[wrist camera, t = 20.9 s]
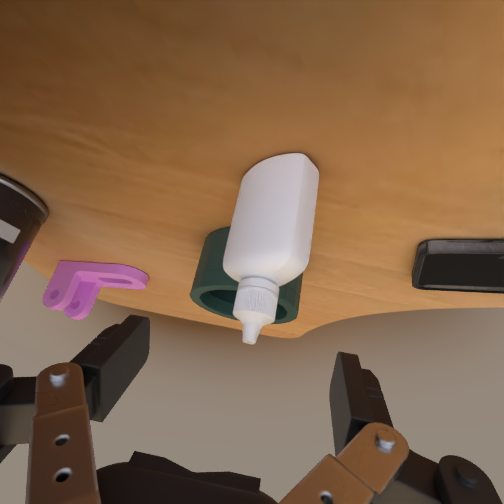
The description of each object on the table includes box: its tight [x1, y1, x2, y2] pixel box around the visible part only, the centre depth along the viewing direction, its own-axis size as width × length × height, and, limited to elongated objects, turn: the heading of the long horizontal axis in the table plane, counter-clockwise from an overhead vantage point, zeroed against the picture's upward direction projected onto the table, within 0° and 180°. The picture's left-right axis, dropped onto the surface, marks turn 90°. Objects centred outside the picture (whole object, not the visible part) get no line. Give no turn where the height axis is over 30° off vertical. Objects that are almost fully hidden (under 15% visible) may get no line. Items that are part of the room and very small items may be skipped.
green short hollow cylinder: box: [190, 227, 303, 324], centre depth 35 cm, size 11×11×6 cm
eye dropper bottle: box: [223, 153, 319, 344], centre depth 21 cm, size 4×6×12 cm
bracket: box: [43, 261, 149, 320], centre depth 48 cm, size 13×6×7 cm, turn 104°
